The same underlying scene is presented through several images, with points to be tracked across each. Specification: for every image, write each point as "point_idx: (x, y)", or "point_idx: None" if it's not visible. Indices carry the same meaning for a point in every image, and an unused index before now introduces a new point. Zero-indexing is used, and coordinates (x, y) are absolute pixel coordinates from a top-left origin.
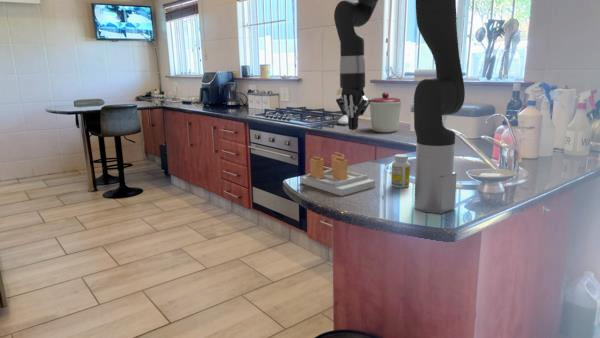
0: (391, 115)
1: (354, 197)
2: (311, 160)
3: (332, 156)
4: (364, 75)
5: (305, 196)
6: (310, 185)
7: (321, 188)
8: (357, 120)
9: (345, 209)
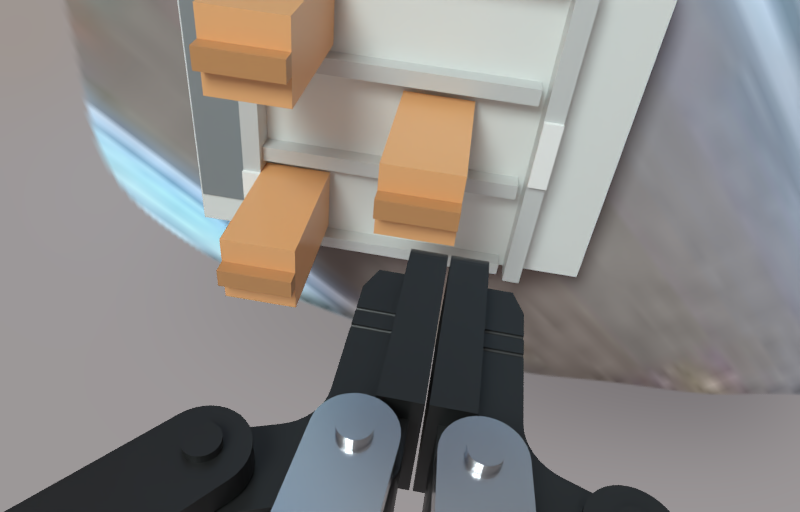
0: None
1: (651, 234)
2: (244, 293)
3: (221, 91)
4: None
5: None
6: None
7: None
8: (520, 401)
9: (698, 371)
